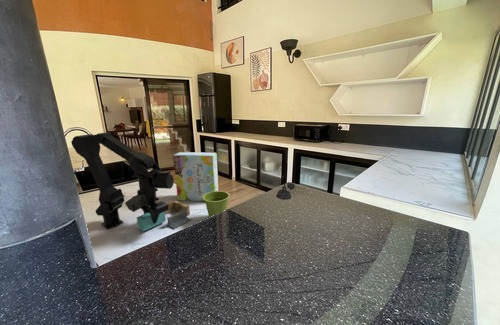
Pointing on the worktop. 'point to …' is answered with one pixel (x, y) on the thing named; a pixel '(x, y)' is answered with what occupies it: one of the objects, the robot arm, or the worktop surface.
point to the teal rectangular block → (149, 221)
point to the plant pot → (216, 202)
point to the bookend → (178, 219)
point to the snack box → (195, 175)
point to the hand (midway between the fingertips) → (151, 221)
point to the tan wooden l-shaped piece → (177, 207)
